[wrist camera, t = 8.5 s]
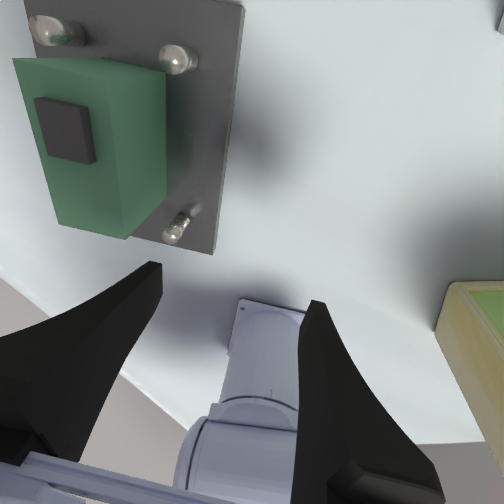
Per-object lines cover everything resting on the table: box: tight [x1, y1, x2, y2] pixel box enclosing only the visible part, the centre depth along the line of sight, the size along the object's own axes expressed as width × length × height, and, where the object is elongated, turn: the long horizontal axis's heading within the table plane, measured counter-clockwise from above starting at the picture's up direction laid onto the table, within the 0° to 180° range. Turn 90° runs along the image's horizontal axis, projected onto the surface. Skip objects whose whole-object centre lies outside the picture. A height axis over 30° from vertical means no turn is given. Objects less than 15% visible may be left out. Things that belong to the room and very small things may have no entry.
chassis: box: [24, 0, 245, 255], centre depth 18 cm, size 16×12×4 cm
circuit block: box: [12, 58, 167, 240], centre depth 16 cm, size 8×4×7 cm, turn 170°
